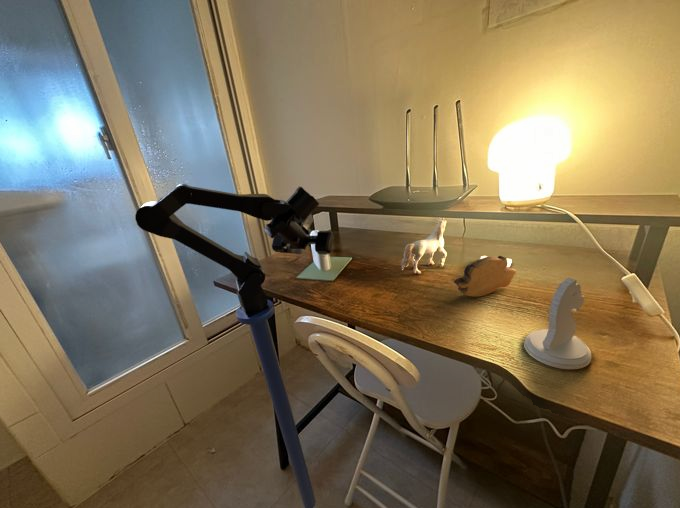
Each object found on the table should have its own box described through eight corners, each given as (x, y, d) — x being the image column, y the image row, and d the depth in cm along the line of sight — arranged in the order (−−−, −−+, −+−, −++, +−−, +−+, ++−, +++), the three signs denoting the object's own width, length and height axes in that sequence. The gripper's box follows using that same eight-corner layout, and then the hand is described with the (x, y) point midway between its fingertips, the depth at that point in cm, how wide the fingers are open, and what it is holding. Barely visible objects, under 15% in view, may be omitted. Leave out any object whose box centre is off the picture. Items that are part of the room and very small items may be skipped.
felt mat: (332, 281, 93) (332, 280, 93) (296, 278, 99) (296, 277, 98) (352, 258, 107) (352, 257, 107) (319, 257, 113) (319, 256, 113)
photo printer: (332, 269, 100) (327, 233, 95) (320, 272, 99) (314, 236, 94) (323, 259, 109) (318, 226, 104) (312, 262, 108) (306, 229, 103)
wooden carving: (500, 280, 80) (504, 245, 75) (515, 287, 76) (521, 250, 72) (449, 298, 75) (451, 262, 71) (462, 306, 72) (465, 268, 67)
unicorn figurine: (457, 259, 95) (460, 217, 89) (419, 281, 85) (419, 236, 79) (437, 254, 101) (438, 215, 95) (399, 275, 91) (398, 232, 85)
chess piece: (603, 354, 53) (629, 278, 46) (568, 378, 49) (591, 299, 43) (545, 328, 61) (560, 260, 54) (512, 346, 58) (523, 276, 51)
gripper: (326, 202, 79) (345, 229, 93) (268, 205, 87) (293, 229, 101) (318, 241, 77) (339, 263, 90) (258, 240, 84) (286, 260, 98)
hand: (313, 252), depth 95 cm, fingers open, 9 cm apart
